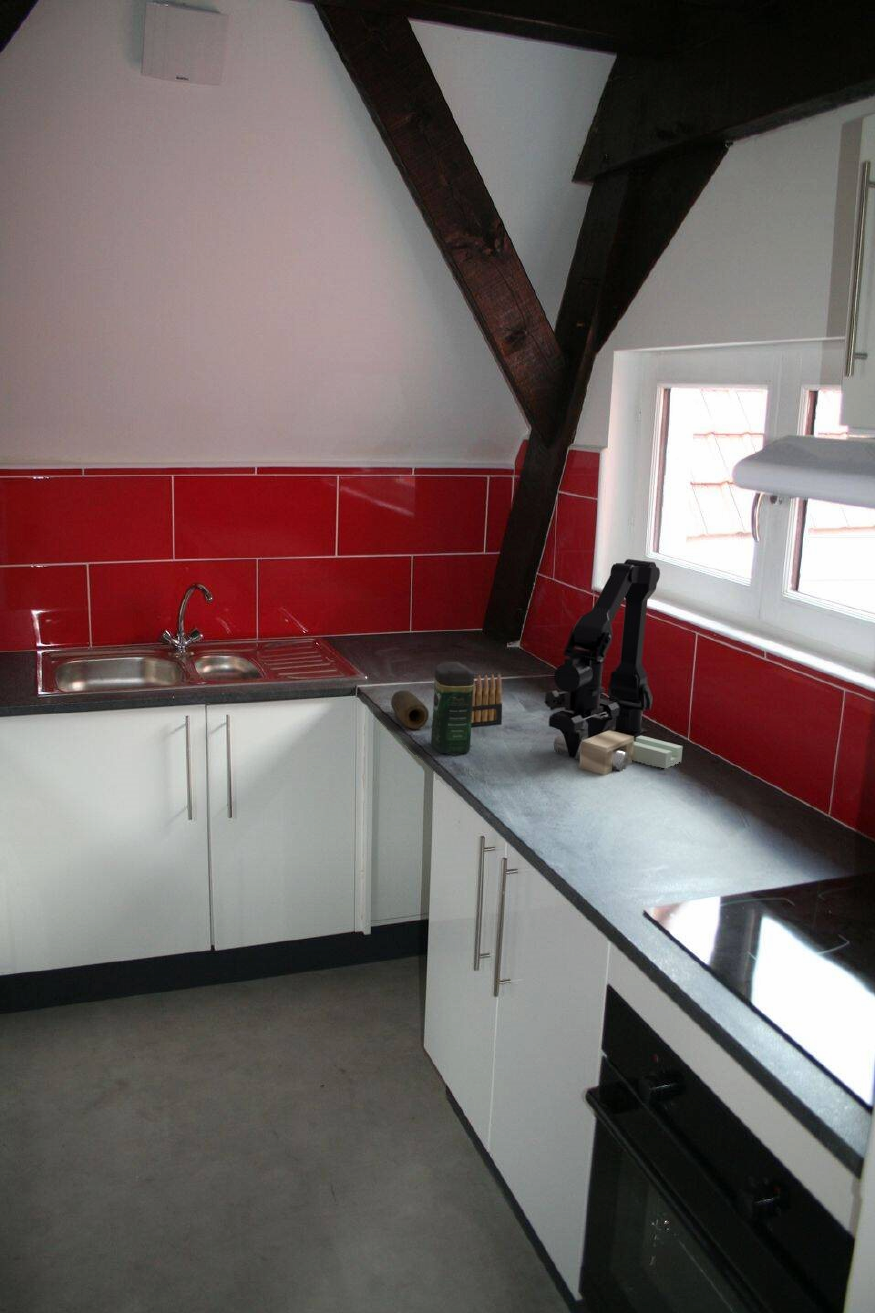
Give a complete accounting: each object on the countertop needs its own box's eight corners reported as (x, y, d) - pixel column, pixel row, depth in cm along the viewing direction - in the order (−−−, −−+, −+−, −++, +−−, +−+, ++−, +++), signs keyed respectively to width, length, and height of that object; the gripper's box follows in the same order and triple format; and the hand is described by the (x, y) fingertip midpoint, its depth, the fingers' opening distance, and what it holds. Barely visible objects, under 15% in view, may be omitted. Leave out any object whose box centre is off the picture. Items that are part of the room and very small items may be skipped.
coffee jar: (474, 755, 231) (479, 669, 227) (437, 756, 229) (441, 670, 225) (463, 741, 240) (467, 658, 236) (427, 742, 239) (431, 658, 234)
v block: (639, 750, 239) (640, 735, 239) (681, 762, 233) (682, 746, 232) (622, 757, 234) (624, 742, 233) (665, 769, 228) (666, 753, 227)
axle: (552, 752, 235) (555, 734, 234) (562, 752, 238) (565, 734, 238) (617, 771, 225) (620, 752, 225) (626, 770, 228) (630, 752, 228)
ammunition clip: (497, 722, 255) (500, 672, 253) (501, 724, 254) (504, 674, 251) (457, 726, 251) (459, 675, 248) (461, 729, 249) (463, 677, 246)
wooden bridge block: (607, 756, 235) (609, 730, 233) (631, 763, 231) (634, 736, 230) (579, 767, 227) (581, 741, 225) (604, 775, 223) (606, 748, 221)
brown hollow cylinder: (433, 731, 247) (435, 702, 245) (403, 733, 245) (405, 704, 243) (413, 712, 261) (415, 684, 259) (385, 713, 258) (386, 686, 257)
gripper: (578, 667, 241) (573, 735, 244) (529, 682, 226) (524, 754, 230) (623, 677, 234) (617, 747, 237) (575, 693, 220) (569, 767, 223)
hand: (581, 753), depth 232 cm, fingers open, 7 cm apart
